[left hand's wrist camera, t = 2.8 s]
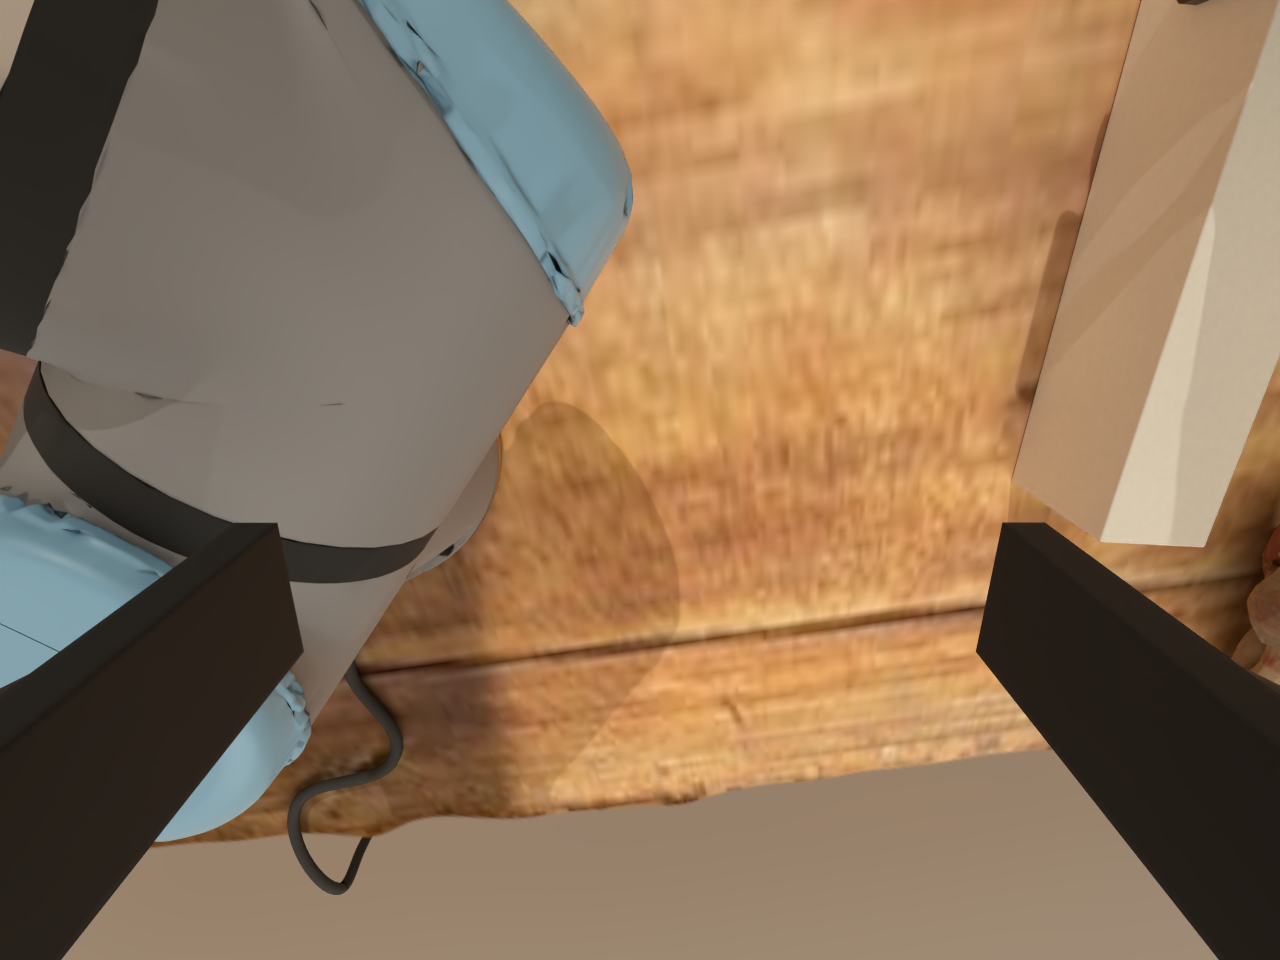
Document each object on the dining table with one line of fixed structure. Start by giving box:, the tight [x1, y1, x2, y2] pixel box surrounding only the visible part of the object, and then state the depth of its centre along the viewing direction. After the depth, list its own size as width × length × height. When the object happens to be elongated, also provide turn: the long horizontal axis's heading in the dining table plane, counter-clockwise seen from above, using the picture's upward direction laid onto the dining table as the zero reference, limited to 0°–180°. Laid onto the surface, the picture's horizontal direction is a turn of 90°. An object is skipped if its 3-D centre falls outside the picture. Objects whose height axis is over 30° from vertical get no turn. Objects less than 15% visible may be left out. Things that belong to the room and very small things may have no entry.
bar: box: [1012, 0, 1280, 547], centre depth 31 cm, size 28×5×8 cm, turn 177°
